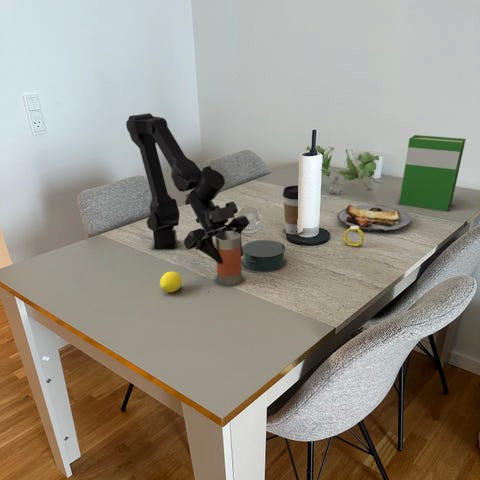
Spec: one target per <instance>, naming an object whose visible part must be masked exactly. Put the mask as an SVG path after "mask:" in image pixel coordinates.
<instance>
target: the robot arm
mask: <svg viewBox="0 0 480 480" xmlns="http://www.w3.org/2000/svg"><path fill="white" fill-rule="evenodd" d="M125 125H126V130H127V132H128V134H129V136H130V140H131V141H132V142H133V143H134V144H135V145H136V146H137V147H138V149H139V152H140V157H141V158H142V159H141V160H142V163H143V167H144V171H145V175H146V179H147V183H148V186H149V190H150V193H151V201H150V204H149V211H150V214H149V216H148V218H147V220H146V226H147V228H148V229H149V230H150V231H152V233H153V234H152V235H153V241H154V245H153V249H154V250H157V249H158V250H173V249H174V248H175V246H176V245H177V243H178V235H177V230H176V229H175V227H178V226H179V224H180V222H179V221H180V210H179V207H178V201H177V199H176V198H173V197H171V196H170V195H169V193H168V189H167V185H166V180H165V176H164V172H163V169H162V164H161V160H160V156H159V153H158V149H157V146H158V148H159V150H160V151H161V153H162V155H163V156H164V158H165V160H166V162H167V163H168V165H169V167H170V169H171V170H170V171H171V173H170V175H171V176H170V177H171V180H172V181H173V185H174V186H175V188H176V189H177V190H178V191H179V192H182V193H184V192H188V191H190V192H189V193H187V194H186V197H185V198H186V199H185V201H184V202H185V203H184V204H185V205H186V206H188V205H190V207H191V209H192V211H193V213H194V214H195V216H196V219H195V222H196V223H197V224H200V226H201V227H200V228H197V229H194V230H190V231H189V232H188V234H187V235H186V236H185V238H184V240H183V244H184V247H185V249H186V250H187V251H190V250H192V249H195V250H196V251H200V252H202V253H203V254H204V255H205V254H206V256H208V257H209V258H211V259H212V260H213V261H215V262H218V263H219V264H222V263H223V262H222V259H221V257H220V255H219V253H218V251H217V250H216V245H215V244H214V239H213V238H215V235H216V234H217V233H219V232H223V231H234V232H238V233H239V234H240V240H241V241H242V232H244V230H245V229H246V228H247V227H248V226H249V224H250V221H249V219H248V217H247V216H246V215H240V216H237V217H236V216H235V214H237V213H239V209H238V207H237V204H236V203H235V200H234V201H232V200H231V201H229V202H227V203H225V206H224V207H220V205H215V203H214V201H213V200H215V199H216V197H217V196H218V195H219V193H220V192H221V190H222V189H223V187H224V186H225V183H226V180H225V177H224V175H223V174H222V173H220V171H218V170H215V169H213V168H212V167H211V166H210V165H208V166H204V167H202V169H200V168H199V165H197V164H196V163H195V161H193V160H191V159H190V158H188V157H187V156H186V155H185V153H184V152H183V150H182V147H181V146H180V145H179V143H178V142H177V140H176V138H175V136H174V135H173V133H172V131H171V130H170V128H169V126H168V122H167V119H165V117H160V116H154V115H153V114H152V113H151V112H148V113H139V114H132V115H129V117H128V118H127V120H126V123H125ZM229 219H231V221H230V222H229ZM228 222H229V223H228ZM227 223H228V224H227ZM242 247H243V244H242V242H241V258H243V250H242Z"/></svg>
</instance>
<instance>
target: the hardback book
mask: <svg viewBox="0 0 480 480" xmlns="http://www.w3.org/2000/svg"><path fill="white" fill-rule="evenodd" d="M466 139H467V138H459V137H458V138H457V137H447V136H436V135H435V136H434V135H422V134H421V135H420V134H414V135H413V136H411V137H409V138H408V146H407V150H406V158H405V165H404V170H403V177H402V183H401V188H400V189H401V190H400V196H399V201H398V202H399V205H404V206H410V207H411V206H412V207H417V208H425V209H430V210H438V211H445V212H448V209H449V207H451V206H452V203H453V199H454V194H455V190H456V186H457V181H458V177H459V173H460V167H461V163H462V157H463V154H464V150H465V144H466Z"/></svg>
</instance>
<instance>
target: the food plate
mask: <svg viewBox="0 0 480 480" xmlns="http://www.w3.org/2000/svg"><path fill="white" fill-rule="evenodd" d="M336 217H337V219H338V220H339V222H340V223H342V224H344V225H345V226H347V225H349V227H351V226H358V227H359V229H360V230H365V231H367V232H370V231H380V230H382V231H391V230H398V229H401V228H402V227H405V226H407V225H409V224H410V223H411V222H412V218H413V215H412V214H411V213H409V212H408V211H407V210H404V209H402V208H397V207H393V206H390V205H383V204H379V205H378V204H369V205H368V204H363V205H354V204H353V205H352V204H349V205H347V207H346V208H343V209H342V210H340V211H339V212H338V213H337V215H336Z"/></svg>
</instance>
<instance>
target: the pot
mask: <svg viewBox="0 0 480 480" xmlns="http://www.w3.org/2000/svg"><path fill="white" fill-rule="evenodd" d="M242 250H243V256H242V259H243V262H242V264H243V266H244V267H245V268H247V269H249V270H252V271H256V272H271V271H275V270H278V269H280V268H282V267H283V266H284V264H285V252H286V246H285V245H284V243H282V242H279V241H276V240H272V239H271V240H270V239H257V240H252V241H249V242H247V243H245V244H243V245H242Z"/></svg>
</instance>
